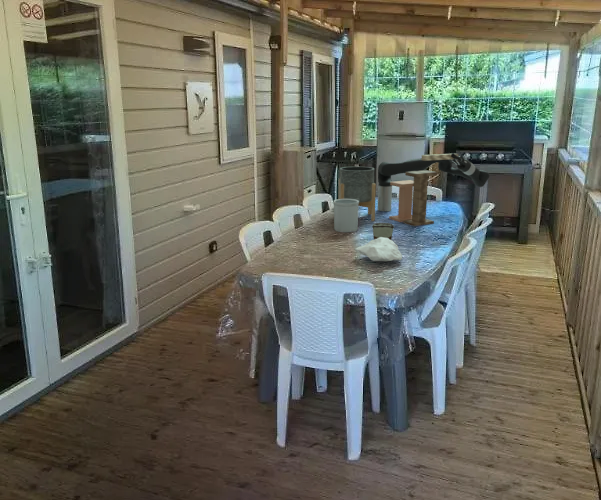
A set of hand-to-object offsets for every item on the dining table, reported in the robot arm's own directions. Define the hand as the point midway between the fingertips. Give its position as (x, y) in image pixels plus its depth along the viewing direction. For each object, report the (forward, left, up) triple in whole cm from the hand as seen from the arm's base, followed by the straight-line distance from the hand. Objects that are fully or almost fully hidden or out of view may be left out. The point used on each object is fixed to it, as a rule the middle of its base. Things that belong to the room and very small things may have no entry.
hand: (449, 154), depth 340 cm
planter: (-56, +9, -42) cm, 71 cm away
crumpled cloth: (-50, -86, -42) cm, 108 cm away
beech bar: (-7, -4, -3) cm, 8 cm away
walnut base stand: (-18, -9, -42) cm, 47 cm away
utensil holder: (-64, -26, -42) cm, 81 cm away
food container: (-45, -53, -42) cm, 82 cm away
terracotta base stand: (-25, +3, -42) cm, 49 cm away
